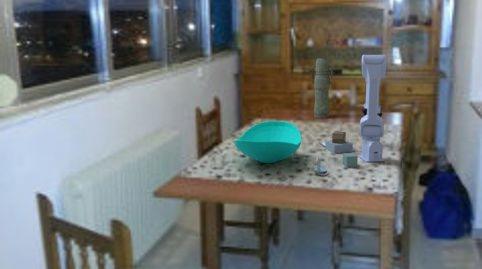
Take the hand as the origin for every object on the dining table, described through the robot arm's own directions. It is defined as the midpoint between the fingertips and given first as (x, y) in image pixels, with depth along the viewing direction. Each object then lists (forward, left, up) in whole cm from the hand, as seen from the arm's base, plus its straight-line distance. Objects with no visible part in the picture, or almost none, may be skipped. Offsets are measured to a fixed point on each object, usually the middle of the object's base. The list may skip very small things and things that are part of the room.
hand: (371, 126), depth 241 cm
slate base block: (-4, +17, -10) cm, 20 cm away
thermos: (+69, +3, -10) cm, 70 cm away
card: (+6, +18, -9) cm, 21 cm away
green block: (-28, +20, -10) cm, 36 cm away
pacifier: (-36, +34, -10) cm, 51 cm away
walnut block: (-4, +17, -6) cm, 18 cm away
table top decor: (-14, +51, -10) cm, 54 cm away
